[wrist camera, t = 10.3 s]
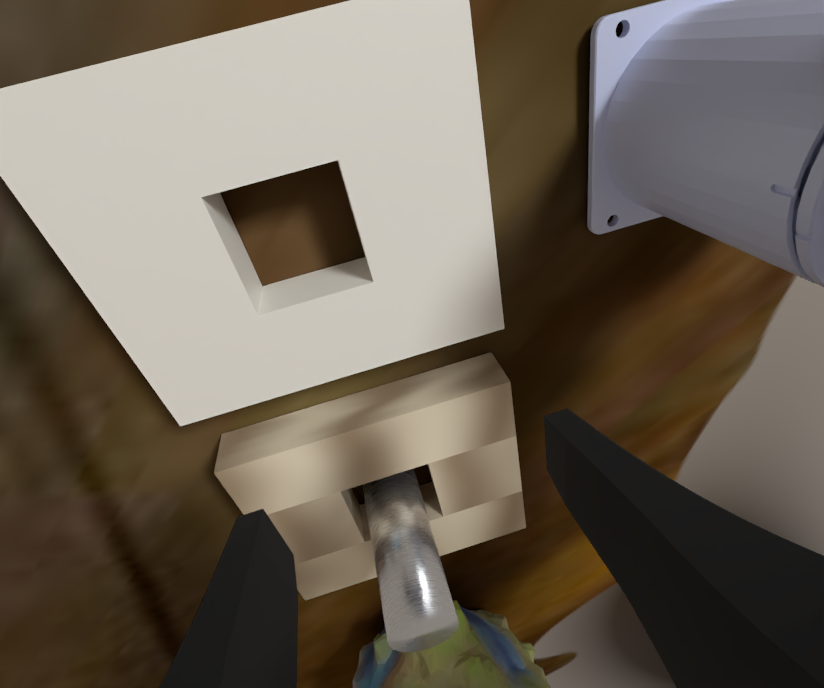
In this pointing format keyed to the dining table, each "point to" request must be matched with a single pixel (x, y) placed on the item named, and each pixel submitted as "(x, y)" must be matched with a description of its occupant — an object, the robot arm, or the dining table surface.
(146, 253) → the socket block
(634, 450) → the dining table surface
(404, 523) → the steel peg
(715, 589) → the robot arm
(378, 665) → the decorative rock
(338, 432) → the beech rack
